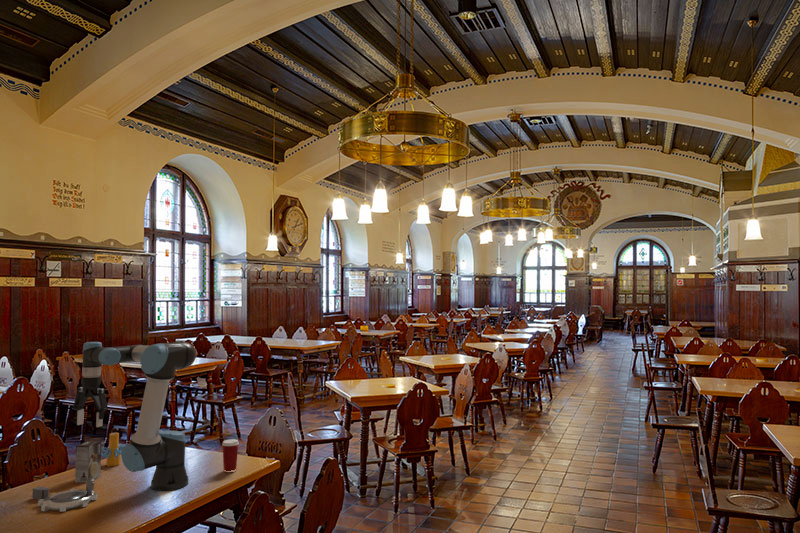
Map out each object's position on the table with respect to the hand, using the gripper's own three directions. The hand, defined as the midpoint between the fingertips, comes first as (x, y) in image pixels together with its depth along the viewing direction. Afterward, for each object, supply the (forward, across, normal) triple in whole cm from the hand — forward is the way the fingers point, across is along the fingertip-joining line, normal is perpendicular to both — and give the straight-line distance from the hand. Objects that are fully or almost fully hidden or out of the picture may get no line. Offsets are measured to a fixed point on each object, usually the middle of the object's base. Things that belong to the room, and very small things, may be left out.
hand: (89, 425), depth 247 cm
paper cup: (+24, +53, +31) cm, 66 cm away
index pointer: (+24, +2, -24) cm, 34 cm away
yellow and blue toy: (+24, -6, +20) cm, 32 cm away
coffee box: (+24, 0, 0) cm, 24 cm away
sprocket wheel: (+24, +16, -24) cm, 38 cm away
